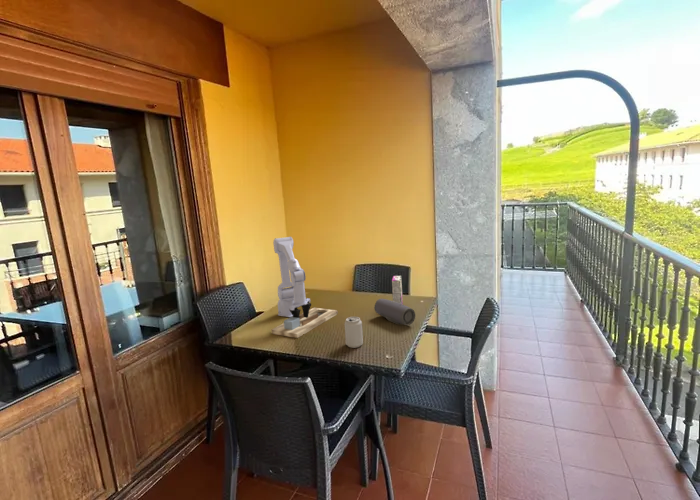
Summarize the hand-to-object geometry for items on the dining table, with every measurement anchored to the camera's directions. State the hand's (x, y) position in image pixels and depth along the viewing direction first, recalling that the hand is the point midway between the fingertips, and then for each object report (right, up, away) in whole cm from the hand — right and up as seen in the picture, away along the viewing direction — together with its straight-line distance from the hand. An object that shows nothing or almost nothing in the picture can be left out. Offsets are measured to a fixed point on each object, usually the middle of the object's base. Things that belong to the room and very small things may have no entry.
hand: (301, 319), depth 185 cm
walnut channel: (+1, -1, +2) cm, 3 cm away
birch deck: (+2, -3, +4) cm, 5 cm away
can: (+27, -6, -27) cm, 39 cm away
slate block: (-4, -2, -7) cm, 8 cm away
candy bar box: (+52, +3, +23) cm, 57 cm away
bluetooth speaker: (+47, -1, -2) cm, 47 cm away
